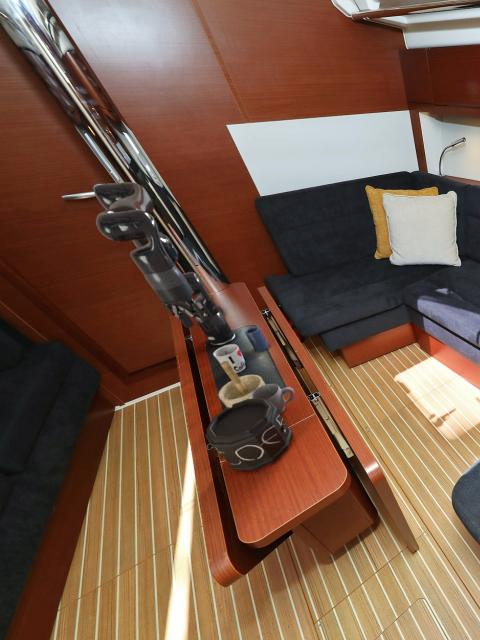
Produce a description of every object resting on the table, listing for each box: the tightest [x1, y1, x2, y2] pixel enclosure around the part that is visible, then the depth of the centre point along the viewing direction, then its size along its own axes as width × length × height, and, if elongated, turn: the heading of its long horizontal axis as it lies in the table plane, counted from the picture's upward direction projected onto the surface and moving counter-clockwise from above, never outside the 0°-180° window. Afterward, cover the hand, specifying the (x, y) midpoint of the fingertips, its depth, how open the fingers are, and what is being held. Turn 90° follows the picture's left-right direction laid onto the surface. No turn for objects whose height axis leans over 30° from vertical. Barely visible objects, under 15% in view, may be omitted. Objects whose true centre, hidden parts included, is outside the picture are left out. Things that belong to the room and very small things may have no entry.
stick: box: [219, 361, 250, 396], centre depth 116 cm, size 2×2×18 cm
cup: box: [212, 343, 246, 374], centre depth 133 cm, size 8×8×10 cm
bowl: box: [218, 374, 267, 408], centre depth 120 cm, size 13×13×7 cm
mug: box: [250, 383, 295, 415], centre depth 116 cm, size 12×9×10 cm
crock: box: [244, 326, 270, 353], centre depth 145 cm, size 5×5×10 cm
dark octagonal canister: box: [205, 399, 293, 471], centre depth 101 cm, size 18×18×16 cm
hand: (200, 328), depth 104 cm, fingers open, 8 cm apart
